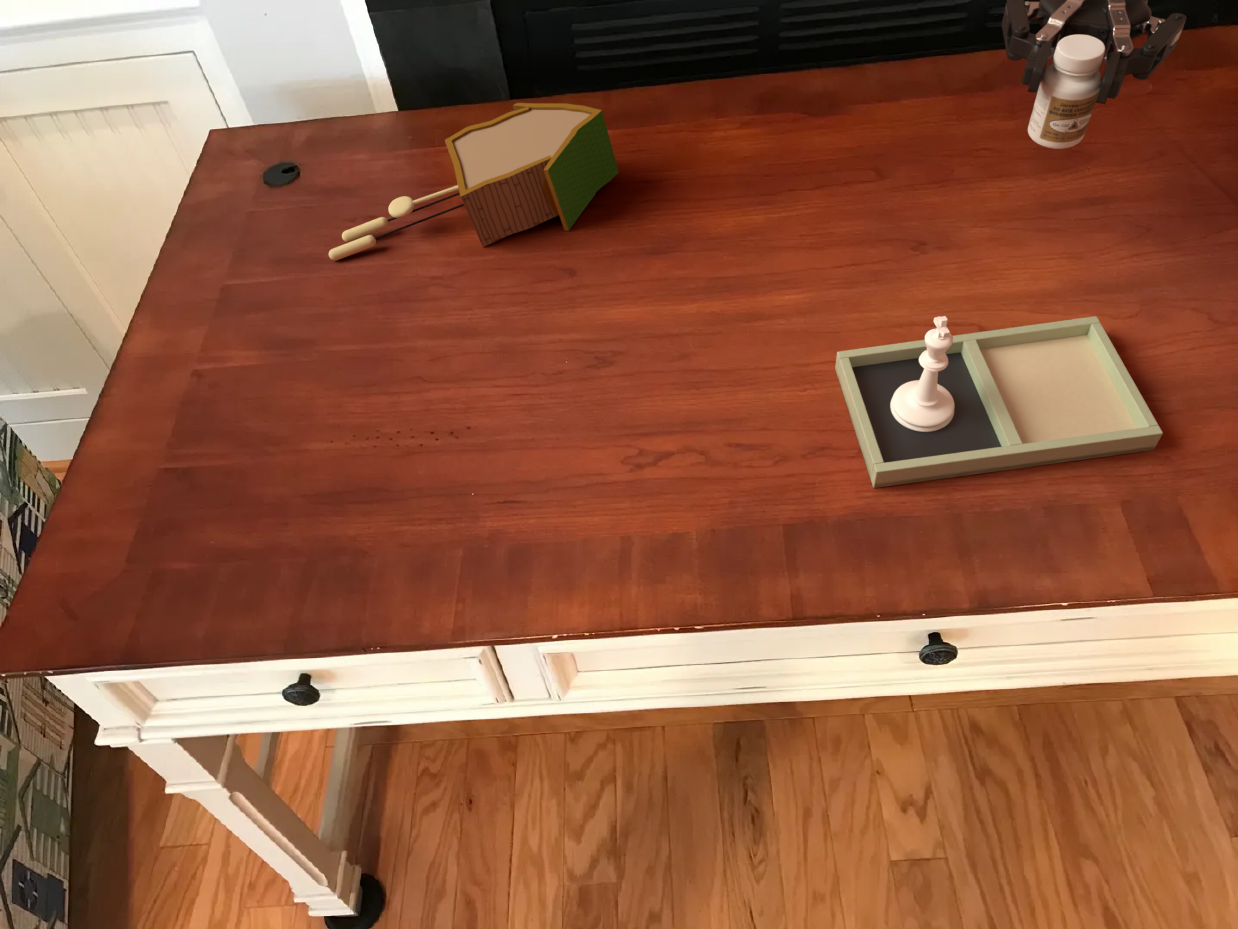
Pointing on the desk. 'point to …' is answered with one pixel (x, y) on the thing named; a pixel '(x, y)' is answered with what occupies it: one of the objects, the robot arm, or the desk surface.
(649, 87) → the desk surface
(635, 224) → the desk surface
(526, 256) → the desk surface
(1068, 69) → the pill bottle
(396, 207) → the cuckoo clock
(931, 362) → the chess piece
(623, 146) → the desk surface
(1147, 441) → the sorting tray
